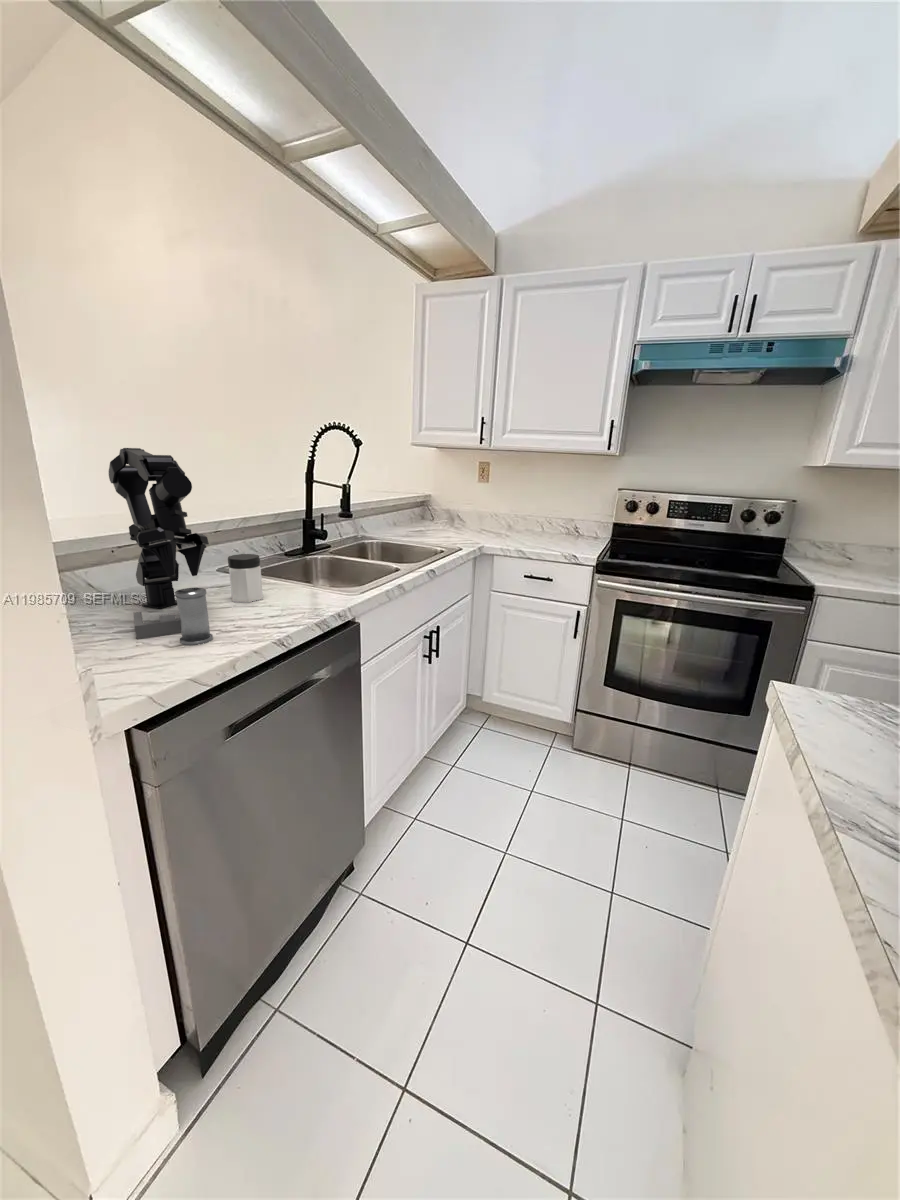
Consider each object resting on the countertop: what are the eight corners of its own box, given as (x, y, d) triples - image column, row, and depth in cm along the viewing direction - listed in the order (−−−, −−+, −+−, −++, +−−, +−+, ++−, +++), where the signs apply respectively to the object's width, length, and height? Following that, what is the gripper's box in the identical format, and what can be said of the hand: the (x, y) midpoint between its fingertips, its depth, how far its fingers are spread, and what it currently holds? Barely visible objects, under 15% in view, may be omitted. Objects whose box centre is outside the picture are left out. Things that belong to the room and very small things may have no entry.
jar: (264, 601, 137) (261, 558, 133) (232, 604, 133) (228, 560, 130) (261, 593, 144) (257, 552, 141) (231, 596, 141) (226, 554, 138)
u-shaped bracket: (135, 624, 116) (132, 606, 115) (195, 616, 122) (193, 599, 121) (136, 639, 107) (133, 620, 106) (201, 629, 114) (198, 611, 112)
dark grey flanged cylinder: (173, 642, 106) (166, 593, 103) (197, 633, 111) (191, 586, 108) (196, 647, 103) (189, 596, 100) (219, 637, 109) (214, 589, 106)
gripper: (159, 521, 123) (174, 582, 124) (105, 511, 105) (122, 583, 105) (202, 511, 123) (216, 573, 123) (155, 500, 104) (172, 572, 105)
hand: (183, 575), depth 114 cm, fingers open, 9 cm apart
